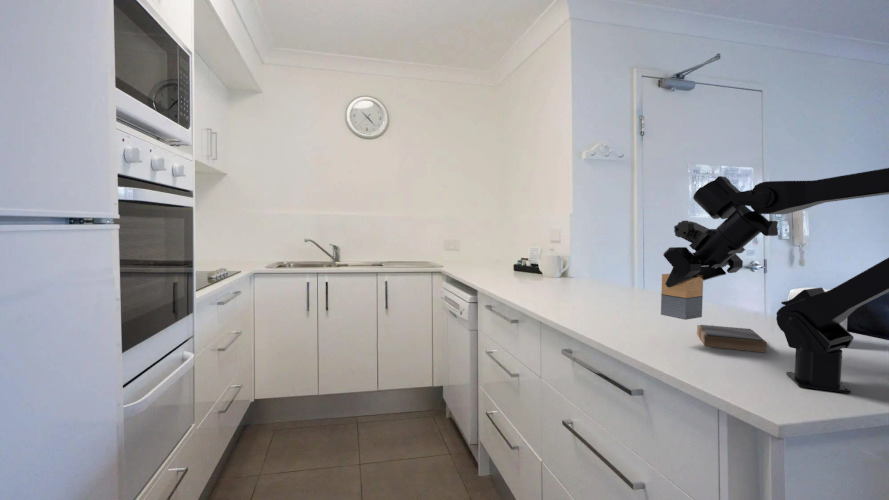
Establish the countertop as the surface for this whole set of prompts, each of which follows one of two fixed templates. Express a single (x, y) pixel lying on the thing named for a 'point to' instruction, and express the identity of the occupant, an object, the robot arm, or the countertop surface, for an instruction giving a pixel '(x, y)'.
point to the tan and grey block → (682, 298)
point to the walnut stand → (731, 338)
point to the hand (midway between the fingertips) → (675, 284)
